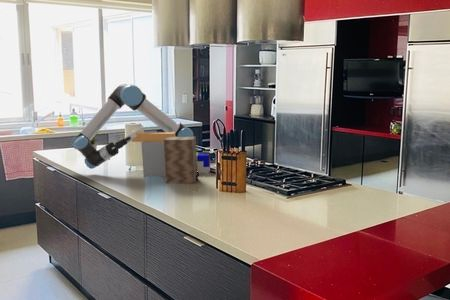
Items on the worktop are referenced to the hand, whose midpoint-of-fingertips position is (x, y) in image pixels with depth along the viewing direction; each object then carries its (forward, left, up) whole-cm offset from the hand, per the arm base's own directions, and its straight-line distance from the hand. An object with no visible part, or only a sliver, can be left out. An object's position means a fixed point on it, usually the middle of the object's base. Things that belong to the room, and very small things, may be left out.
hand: (139, 132), depth 266 cm
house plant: (-53, -66, -24) cm, 88 cm away
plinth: (-2, +10, -24) cm, 26 cm away
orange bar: (-2, +8, -5) cm, 10 cm away
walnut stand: (+10, +29, -24) cm, 39 cm away
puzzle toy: (-14, +31, -24) cm, 42 cm away
